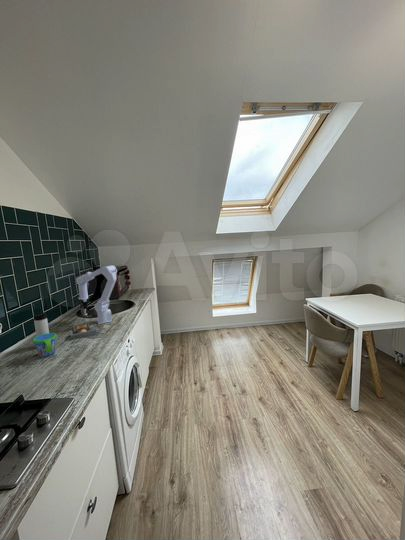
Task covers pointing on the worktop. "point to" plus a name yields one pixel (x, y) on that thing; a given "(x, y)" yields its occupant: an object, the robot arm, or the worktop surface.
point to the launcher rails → (75, 329)
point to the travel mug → (41, 324)
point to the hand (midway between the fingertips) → (85, 308)
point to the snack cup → (45, 344)
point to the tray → (83, 334)
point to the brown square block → (82, 328)
